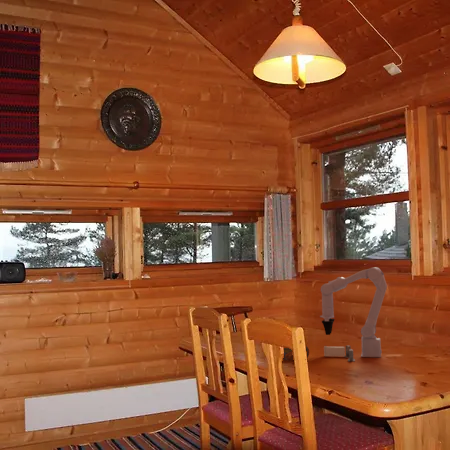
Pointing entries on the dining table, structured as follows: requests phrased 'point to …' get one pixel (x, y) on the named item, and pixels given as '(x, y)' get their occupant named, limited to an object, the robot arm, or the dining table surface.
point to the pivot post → (347, 351)
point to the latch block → (351, 355)
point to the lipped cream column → (334, 351)
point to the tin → (289, 355)
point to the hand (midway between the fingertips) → (328, 333)
